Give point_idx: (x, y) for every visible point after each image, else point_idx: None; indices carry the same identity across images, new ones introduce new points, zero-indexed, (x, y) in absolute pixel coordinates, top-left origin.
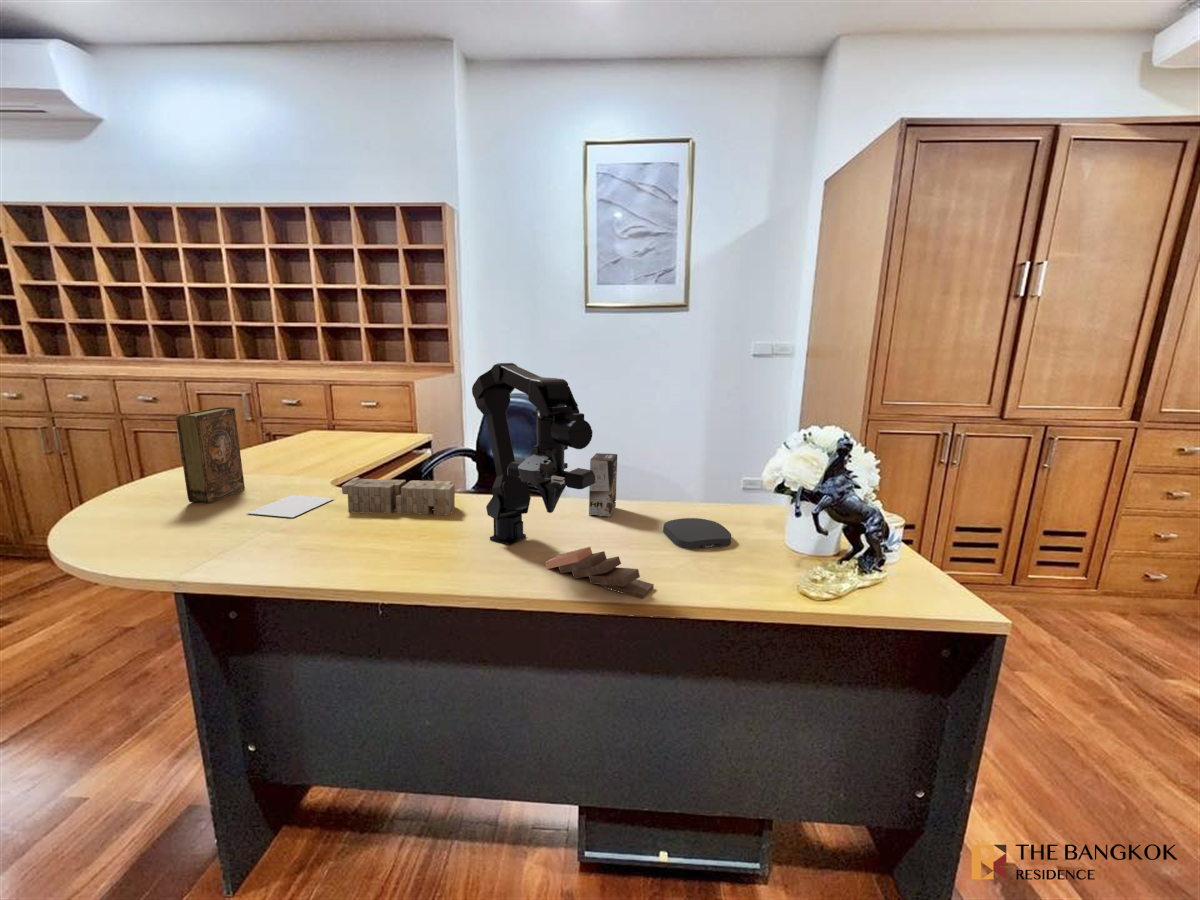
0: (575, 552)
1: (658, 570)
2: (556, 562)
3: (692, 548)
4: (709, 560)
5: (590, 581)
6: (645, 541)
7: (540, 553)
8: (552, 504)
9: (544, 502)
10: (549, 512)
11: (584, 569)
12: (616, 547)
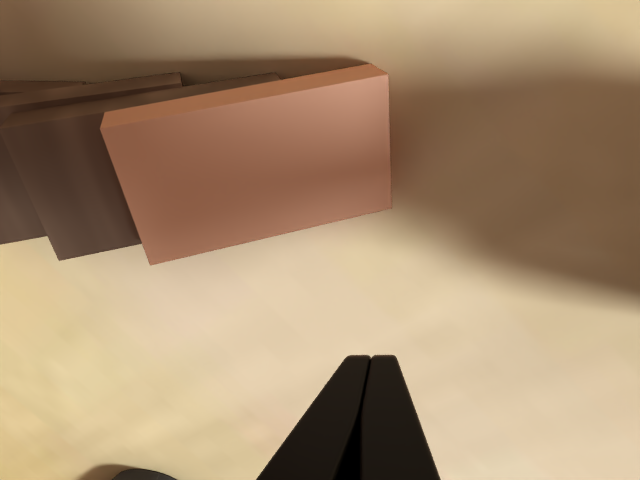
0: (185, 182)
1: (54, 327)
2: (290, 85)
3: (119, 475)
4: (37, 437)
5: (79, 84)
6: (257, 468)
7: (549, 194)
8: (280, 457)
9: (417, 464)
10: (362, 356)
11: (74, 95)
12: (294, 401)
